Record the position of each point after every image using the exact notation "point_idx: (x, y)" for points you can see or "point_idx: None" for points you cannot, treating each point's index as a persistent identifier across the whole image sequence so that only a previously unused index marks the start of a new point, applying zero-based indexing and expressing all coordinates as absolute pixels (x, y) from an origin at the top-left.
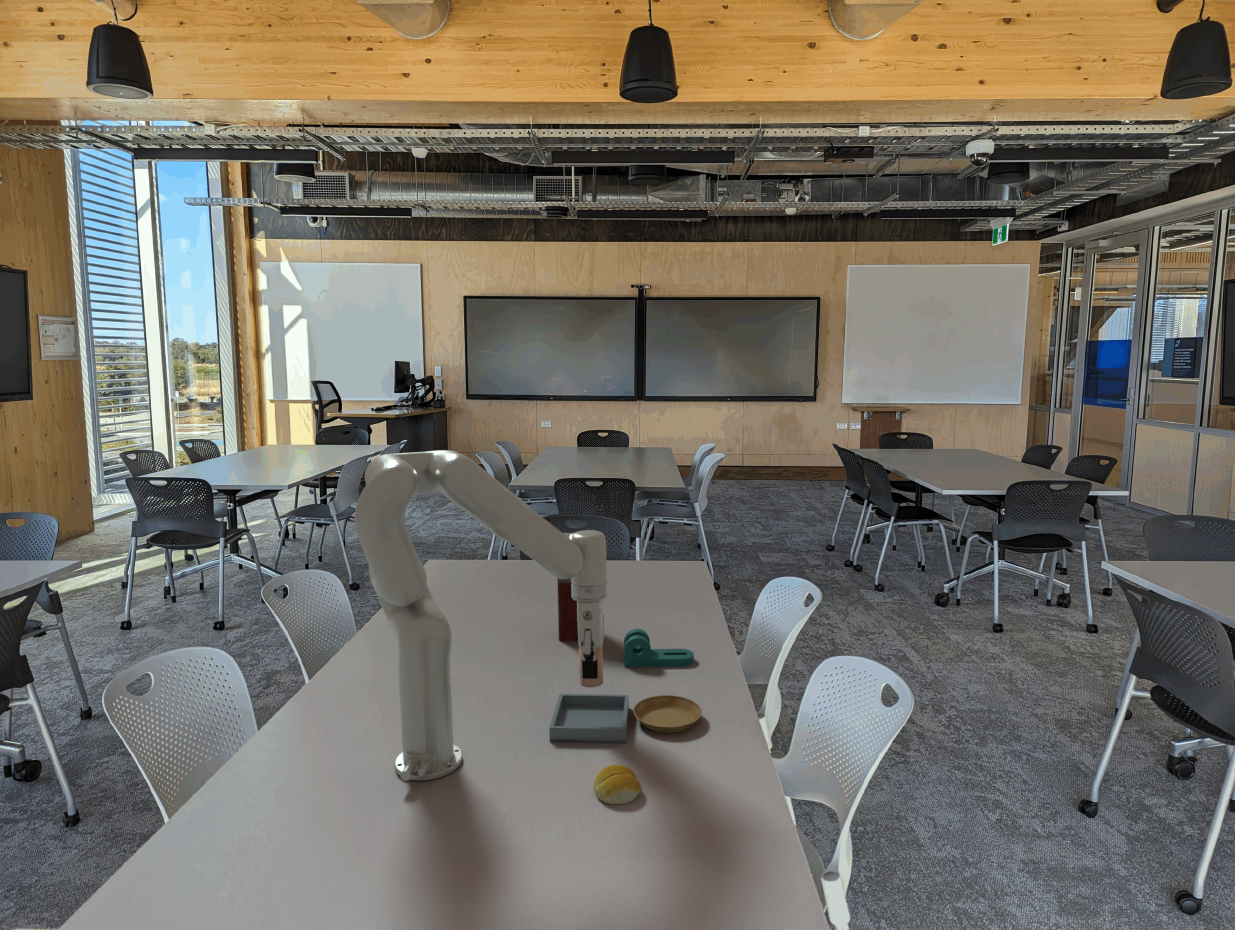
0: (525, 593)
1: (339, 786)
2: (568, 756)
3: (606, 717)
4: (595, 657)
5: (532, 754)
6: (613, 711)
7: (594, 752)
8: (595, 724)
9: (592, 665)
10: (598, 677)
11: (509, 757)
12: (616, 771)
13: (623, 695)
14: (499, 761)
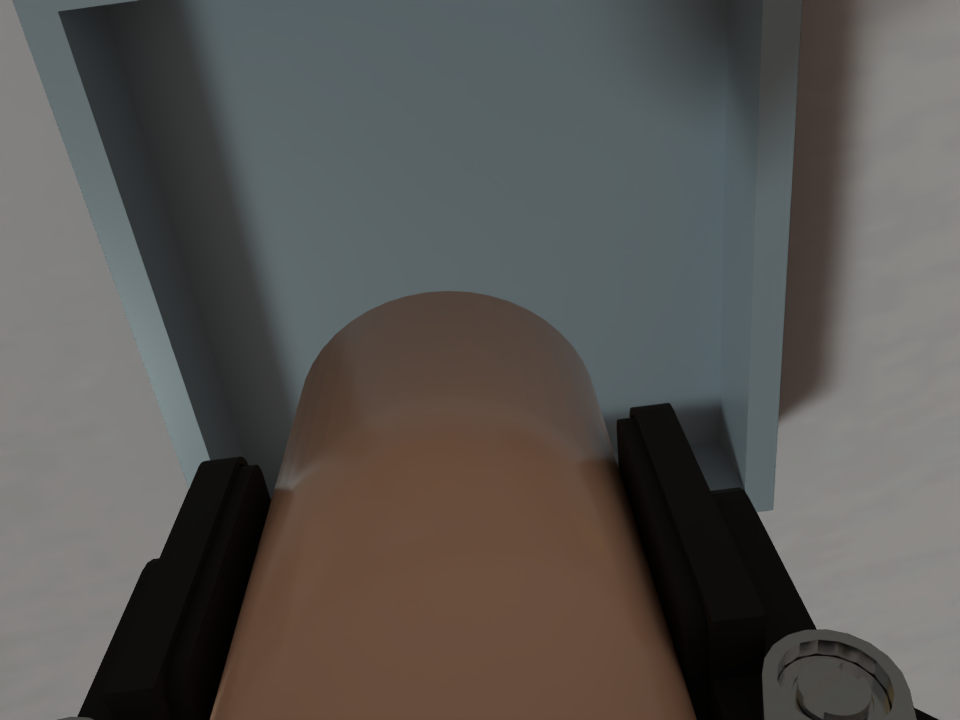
0: None
1: None
2: (940, 291)
3: (365, 138)
4: (909, 717)
5: (894, 496)
6: (237, 97)
7: (900, 120)
8: (507, 205)
9: (807, 615)
10: (568, 388)
11: (917, 591)
12: None
13: (43, 33)
14: (954, 620)
